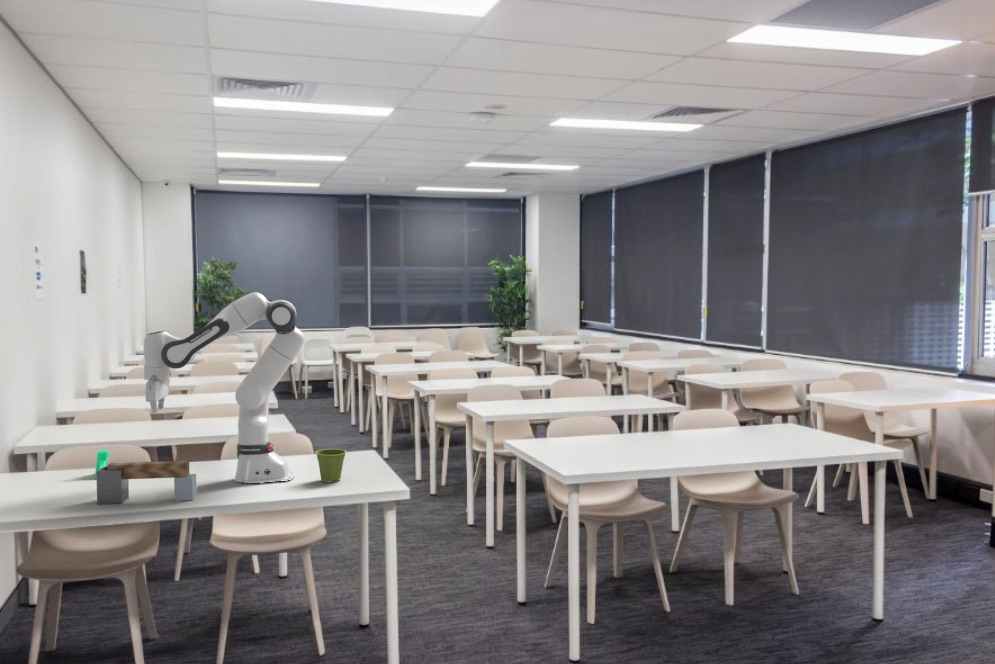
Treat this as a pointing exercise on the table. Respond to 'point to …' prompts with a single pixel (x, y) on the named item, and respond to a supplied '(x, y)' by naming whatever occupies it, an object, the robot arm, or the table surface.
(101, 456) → the camera mount
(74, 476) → the table surface
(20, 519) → the table surface
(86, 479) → the table surface
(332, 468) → the plant pot
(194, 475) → the block
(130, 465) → the rail
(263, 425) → the robot arm
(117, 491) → the cup bracket
